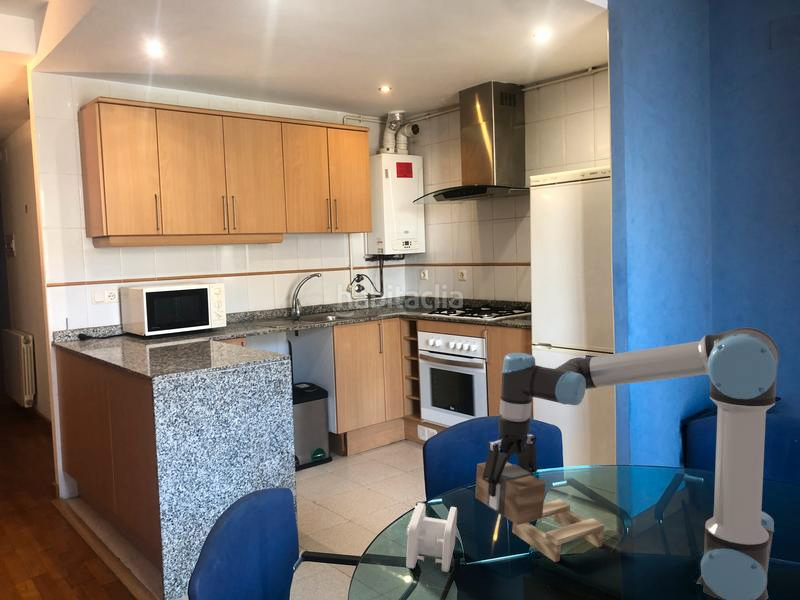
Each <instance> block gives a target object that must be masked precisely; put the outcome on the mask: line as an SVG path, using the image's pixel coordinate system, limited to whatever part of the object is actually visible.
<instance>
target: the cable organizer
mask: <svg viewBox="0 0 800 600" xmlns="http://www.w3.org/2000/svg"><path fill="white" fill-rule="evenodd" d="M426 509H427V508H426V503H422V502H417V505H415V506H414V510H413V511H412V514H411V518H410V520H409V523H408V524H407V528H406V532H405V533H406V536H407V542H406V544H407V545H406V561H405V562H406V563H405V565H406V568H408V569H414V568H416V564H417V562H418V560H420V561H422V563H424V561H425V556H430V557H435V561H434V562H435V563H434V564H435V565H436V564H437V563H438V564H441V571H442V572H444V573H448V572H450V567H451V563H452V558H453V553H454V550H455V544H456V534H457V532H456V531H457V530H456V529H457V518H458V508H457V507H455V506H450V509H449V512H448V516H447V519H443V518H441V519H440V518H434V517H427V516H426ZM422 555H423V556H422ZM440 558H441V559H440Z"/></svg>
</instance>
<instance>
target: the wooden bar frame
mask: <svg viewBox="0 0 800 600" xmlns="http://www.w3.org/2000/svg"><path fill="white" fill-rule="evenodd" d="M570 508H571V504H569V503H567V502H565V500H562V499H560V498H558V499H555V500H552V501H548V502H545V503H544V502H543V514H542V518H540V519H543V518H547V517H550V516H553V521H554V522H556V523H558V524H559V525H561V526H562V527H559V528H556V529H552V530H549V531H546V532H544V531H542V530H540V529H539V528H537V526H534V525H533V524H531V523H530V522H534V521H537V520H538V519H536V520H533V521H529V522H526V523H523V524H519V525H516V524H515V523H513V522H512V530H511V531H512V533H513V534H514V535H515V536H517V537H519V539H521V540H522V541H524V542H526V543H527V544H529V545H530V546H531V547H533V548H534V549H536V550H537V551H539V552H540V553H541V554H543V555H544V556H546V557H547V558H548V559H550V560H551V561H553V562H554V563H557V562H560V560H561V550H562V545H563V544H566V543H569V542H571V541H574V540H578V539H581V538H582V539H583V540H585V541H586V542H588V543H590V544H592V545H593V546H595V547H596V548H600V547H603V539H604V532H605V524H603V523H602V522H601V521H598V520H597V519H595V518H593V517H591V518H589V519H585V518H584V517H582V516H580V515H579V514H577V513H575V512H573V511H572V510H571V509H570ZM540 519H539V520H540Z"/></svg>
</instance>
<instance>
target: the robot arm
mask: <svg viewBox="0 0 800 600" xmlns="http://www.w3.org/2000/svg"><path fill="white" fill-rule="evenodd" d="M779 360H780V352H779V348H778V345H777V343H776V342H775V340H774V339H773V338H772V337H771V336H770V335H769V334H767V332H764V331H762V330H761V329H757V328H755V327H738V328H734V329H731V330H728V331H723V332H717V333H714V334H707V335H704V336H703V337H702V338H701V340H699V341H698V340H697V341H690V342H685V343H684V342H683V343H679V344H671V345H665V346H658V347H651V348H645V349H644V348H643V349H637V350H632V351H625V352H619V353H618V352H617V353H612V354H605V355H599V356H592V357H578V356H577V357H574V358H571V359H568V360H567V361H565V362H564V363H563V364H561V365H559V366H558V367H555V368H551V367H545V366H540V365H536V364H537V363H536V358H535V356H533V355H532V354H529V353H524V352H511V353H508V354H506V355H505V356H504V358H503V363H502V364H503V365H502V370H501V389H500V399H499V400H500V401H499V414H500V415H499V416H498V427H497V428H498V432H499V437H498V438H497V440H495V441H492V440H489V442H488V445H487V446H488V447H487V449H488V451H487V455H486V460H485V462H486V464H485V468H484V473H483V477H482V479H483V480H484V481H486V482H487V483H489V491H488V494H489V495H490V500H489V506H490V507H492V508H493V509H495V510H499V497H500V484H499V483H498V482H499V479H500V477H501V474H502V472H503V469H504V467H505V465H506V462H508V460H510V458H511V456H512V455H514V454H515V455H516V456H515V457H516V459H517V462H518V466H519V467H521V468H523V469H525V470H527V471H529V472H530V473H531V475H532V476H534V477H535V473H537V472H538V466H537V463H538V462H537V453H536V452H537V451H536V448H537V447H536V444H537V436H536V435H534V434H531V433H530V425H531V419H530V418H531V415H532V403H533V398H536V399H540V400H545V401H550V402H555V403H559V404H562V405H569V406H570V405H571V406H579V405H580V404H581V403H582V401H583V399H584V397H585V394H586V390H588V389H590V390H591V389H595V388H604V387H612V386H621V385H628V384H629V385H630V384H637V383H644V382H645V383H646V382H654V381H662V380H670V379H671V380H672V379H679V378H686V377H687V378H688V377H695V376H705V375H708V376H709V378H710V379H709V380H710V382H709V385H710V387H709V399H710V400H711V401H712V402H713V403H714V404H715V405H716V406H717V413H716V414H717V416H716V419H717V421H716V444H715V467H714V468H715V471H714V472H715V473H714V474H715V475H714V497H713V498H714V501H713V502H714V503H713V516H712V517H711V518H709V519H707V520H706V521H705V525H704V545H703V546H704V551H703V556H702V557H701V560H700V570H701V571H700V573H701V574H700V577H699V578H698V580H697V581H696V584H701V585H703V592H704V593H706V594H708V595H710V596H712V597H714V598H718V599H721V600H767V599H768V598H769V595H768V590H767V585H768V569H769V562H770V555H771V549H772V548H771V547H772V540H773V534H774V532H775V527H774V526H775V525H774V524H775V522H774V521H775V520H774V519H773V517H771V515H769V514H768V513H766V512H765V511H762V508H763V507H762V504H763V486H764V485H763V483H764V480H763V479H764V460H765V458H764V457H765V441H766V440H765V438H766V437H765V436H766V420H767V419H766V416H767V411H768V410H769V409H771V408H772V407H773V406H775V404H776V394H777V392H776V391H777V390H776V389H777V374H778V365H779ZM490 507H489V508H490ZM493 509H492V510H493Z"/></svg>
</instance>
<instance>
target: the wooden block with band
mask: <svg viewBox="0 0 800 600" xmlns="http://www.w3.org/2000/svg"><path fill="white" fill-rule="evenodd" d="M485 464H486V461H485V462H481V463H477V464H476V475H475V476H476V479H475V480H476V481H475V491H474V492H475V493H474V498H475V499H477V500H478V501H480V502H482V503H483V504H485V505H486V506H487V507H488V508H489V509H492V510H493V511H495V512H496V513H497V514H499V515H500V516H502V517H504V518H506V519H507V520H509V521H510V522H512V524H513V523H515V524H516V525H519V524H523V523H526V522H528V523H530V522H529V521H531V522H534V521H537V520H540V518H541V519H543V518H542V514H543V503H544V502H545V501H544V500H545V492H546V490H545V489H546V488H545V487H546V482H545V481H544V480H541V479H539V478H538V477H536V476H535V475H534V476H532V475H531V473H530V472H529V471H527V470H525V469H523V468H521V467H520V465H517V464H516V463H514V464H512V463H510V462H508V461H507V462H506V465H505V467H504V469H503V472H502V474H501V477H500V479H499V482H498V483H499V484H500V497H499V510H495V509H493V508H492V507H490V506H489V500H490V495H489V494H488V491H489V483H487V482H486V481H484V480H483V479H482V477H483V473H484V468H485ZM536 519H537V520H536ZM533 520H534V521H533Z"/></svg>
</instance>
